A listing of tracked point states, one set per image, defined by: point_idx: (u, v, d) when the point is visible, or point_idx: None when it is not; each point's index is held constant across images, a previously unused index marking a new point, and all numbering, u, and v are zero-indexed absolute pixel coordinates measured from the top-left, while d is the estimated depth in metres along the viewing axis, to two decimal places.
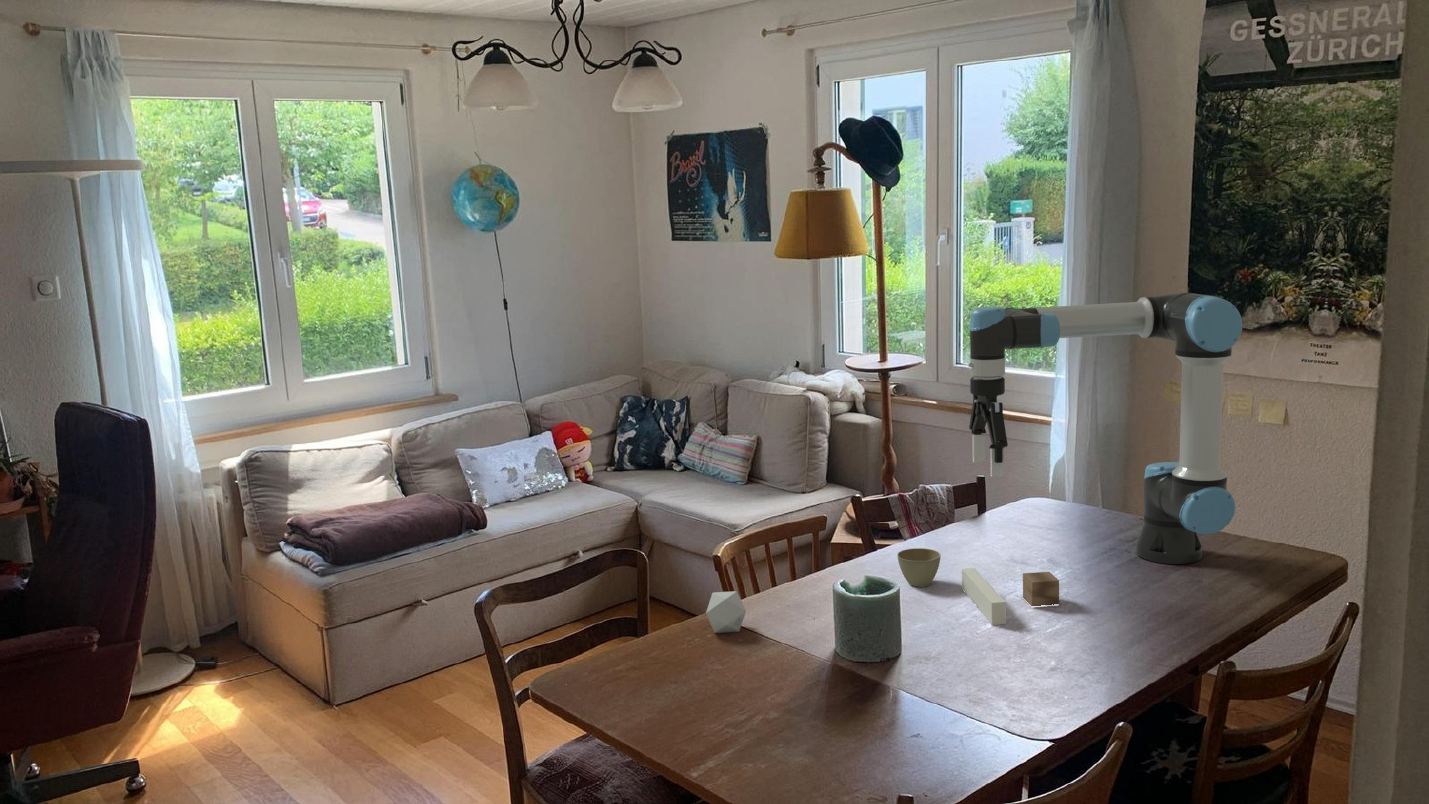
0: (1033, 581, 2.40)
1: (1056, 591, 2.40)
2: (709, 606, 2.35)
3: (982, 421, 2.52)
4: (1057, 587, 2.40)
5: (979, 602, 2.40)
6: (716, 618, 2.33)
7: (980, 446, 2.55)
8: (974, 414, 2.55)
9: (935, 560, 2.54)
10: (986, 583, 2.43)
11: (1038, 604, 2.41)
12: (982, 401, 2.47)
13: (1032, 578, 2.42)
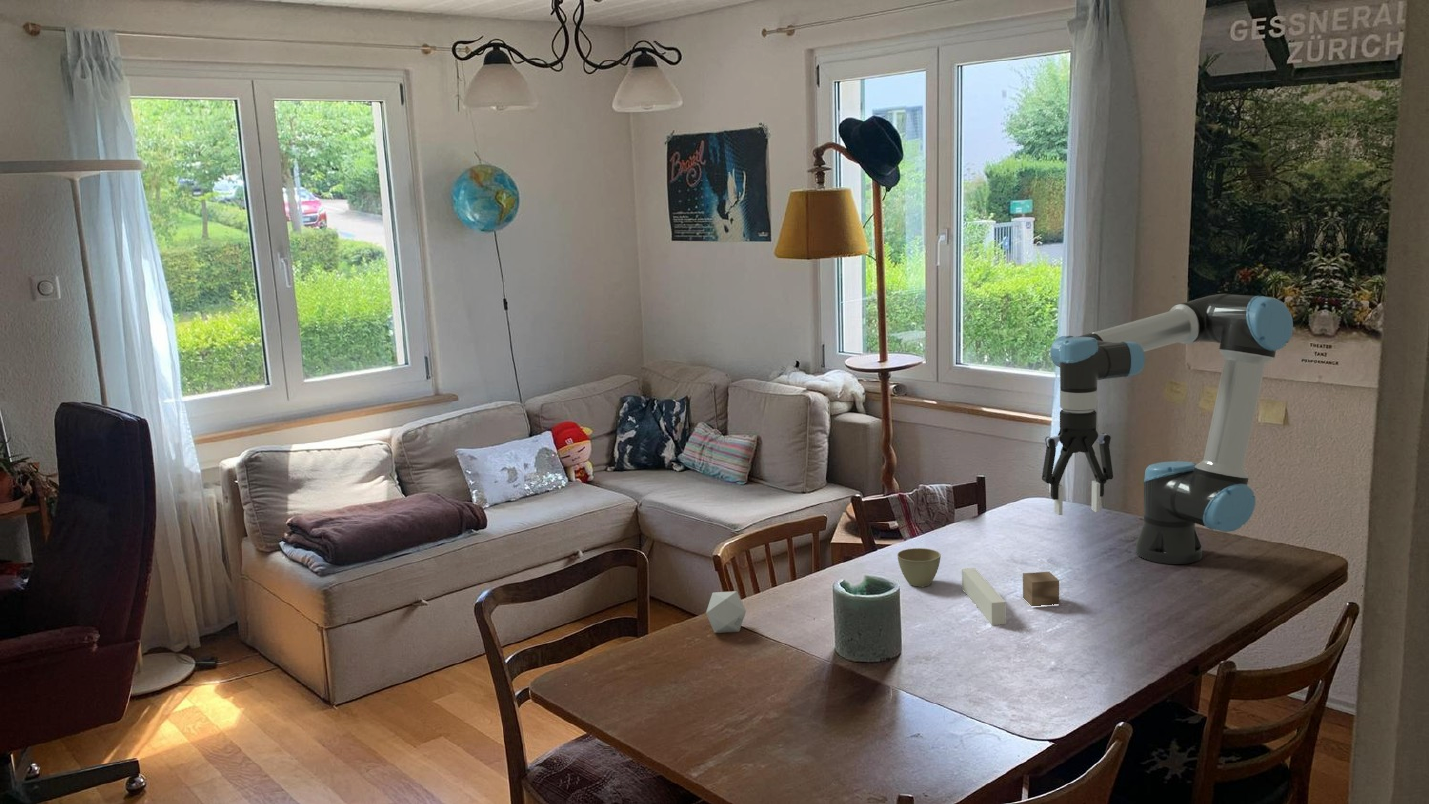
0: (1033, 581, 2.40)
1: (1056, 591, 2.40)
2: (709, 606, 2.35)
3: (1090, 462, 2.39)
4: (1057, 587, 2.40)
5: (979, 602, 2.40)
6: (716, 618, 2.33)
7: (1094, 494, 2.40)
8: (1101, 456, 2.40)
9: (935, 560, 2.54)
10: (986, 583, 2.43)
11: (1038, 604, 2.41)
12: None
13: (1032, 578, 2.42)
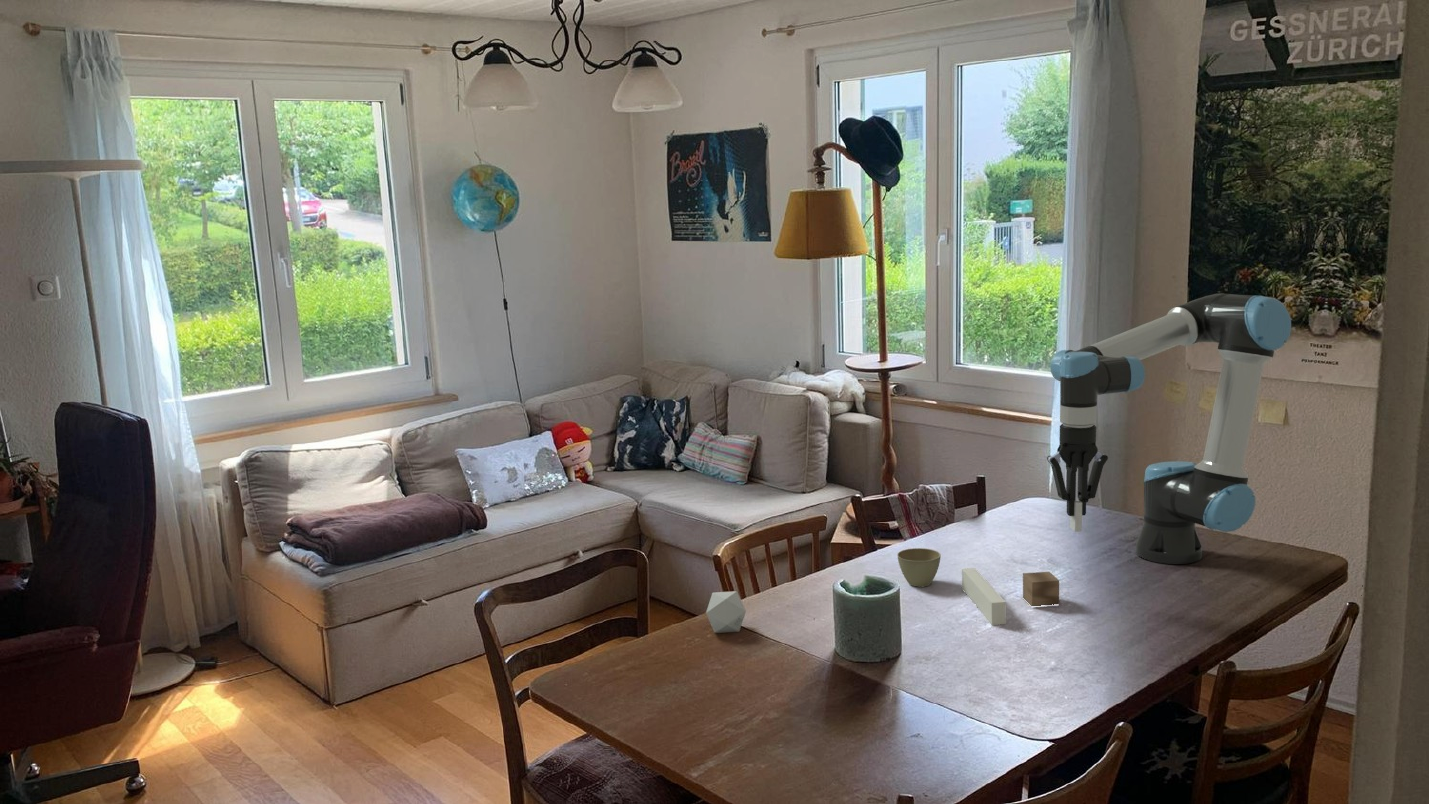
0: (1033, 581, 2.40)
1: (1056, 591, 2.40)
2: (709, 606, 2.35)
3: (1080, 477, 2.39)
4: (1057, 587, 2.40)
5: (979, 602, 2.40)
6: (716, 618, 2.33)
7: None
8: (1091, 474, 2.40)
9: (935, 560, 2.54)
10: (986, 583, 2.43)
11: (1038, 604, 2.41)
12: None
13: (1032, 578, 2.42)
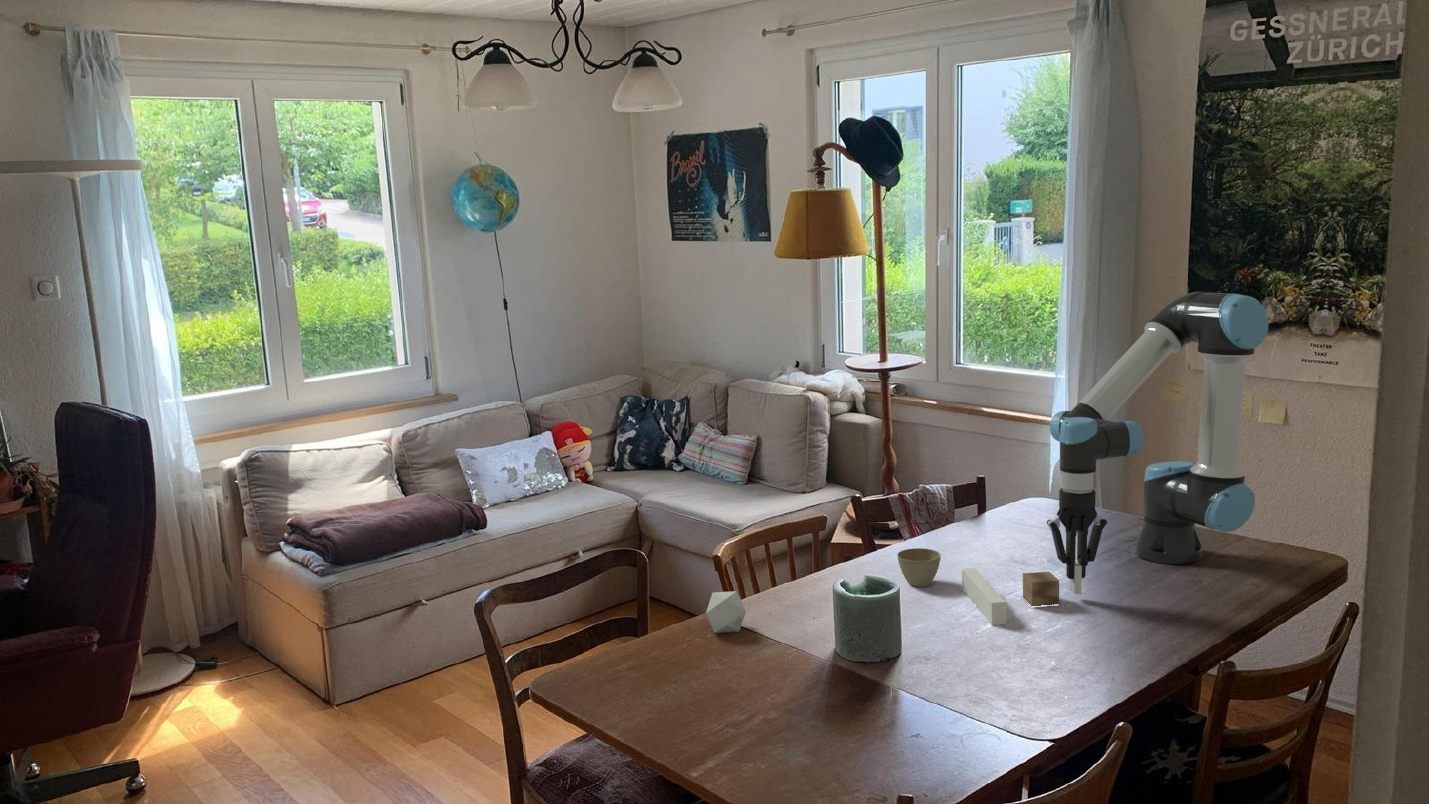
0: (1033, 581, 2.40)
1: (1056, 591, 2.40)
2: (709, 606, 2.35)
3: (1079, 541, 2.42)
4: (1057, 587, 2.40)
5: (979, 602, 2.40)
6: (716, 618, 2.33)
7: None
8: (1090, 537, 2.43)
9: (935, 560, 2.54)
10: (986, 583, 2.43)
11: (1038, 604, 2.41)
12: None
13: (1032, 578, 2.42)
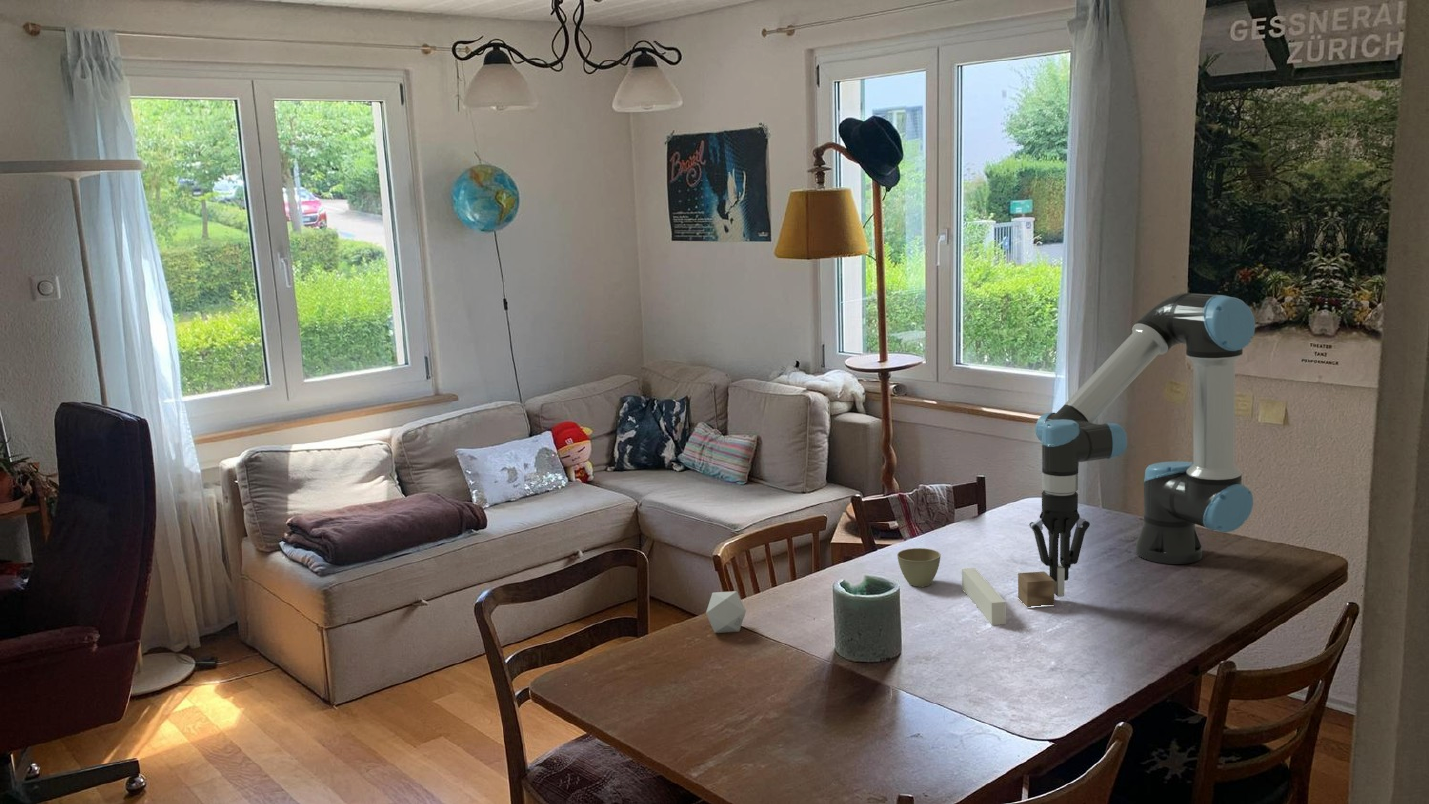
0: (1028, 581, 2.40)
1: (1051, 591, 2.40)
2: (709, 606, 2.35)
3: (1062, 543, 2.41)
4: (1052, 587, 2.40)
5: (979, 602, 2.40)
6: (716, 618, 2.33)
7: None
8: (1073, 539, 2.43)
9: (935, 560, 2.54)
10: (986, 583, 2.43)
11: (1033, 604, 2.41)
12: None
13: (1027, 577, 2.42)
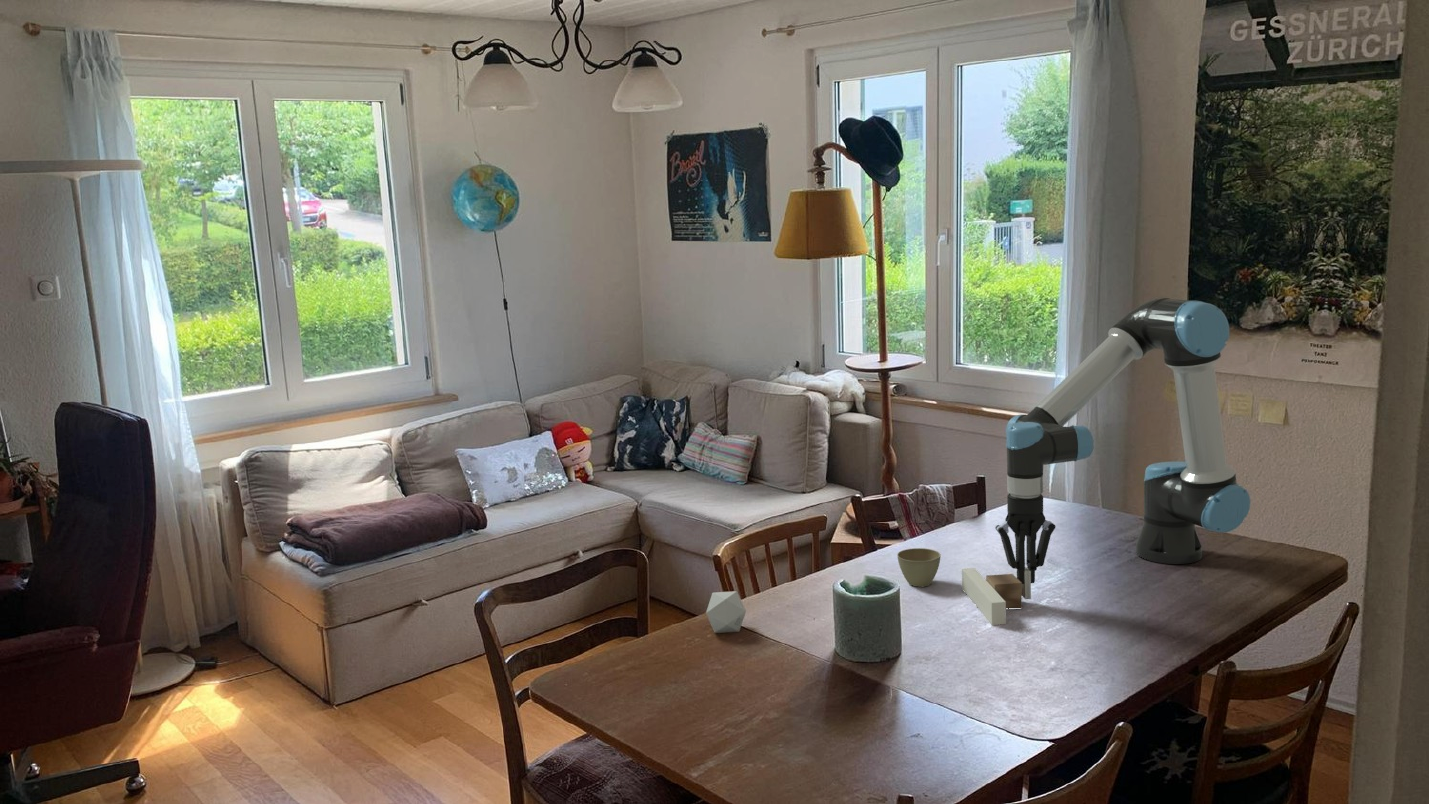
0: (996, 583, 2.40)
1: (1019, 593, 2.40)
2: (709, 606, 2.35)
3: (1028, 546, 2.41)
4: (1020, 589, 2.40)
5: (979, 602, 2.40)
6: (716, 618, 2.33)
7: None
8: (1039, 542, 2.42)
9: (935, 560, 2.54)
10: (986, 583, 2.43)
11: None
12: None
13: (994, 580, 2.42)
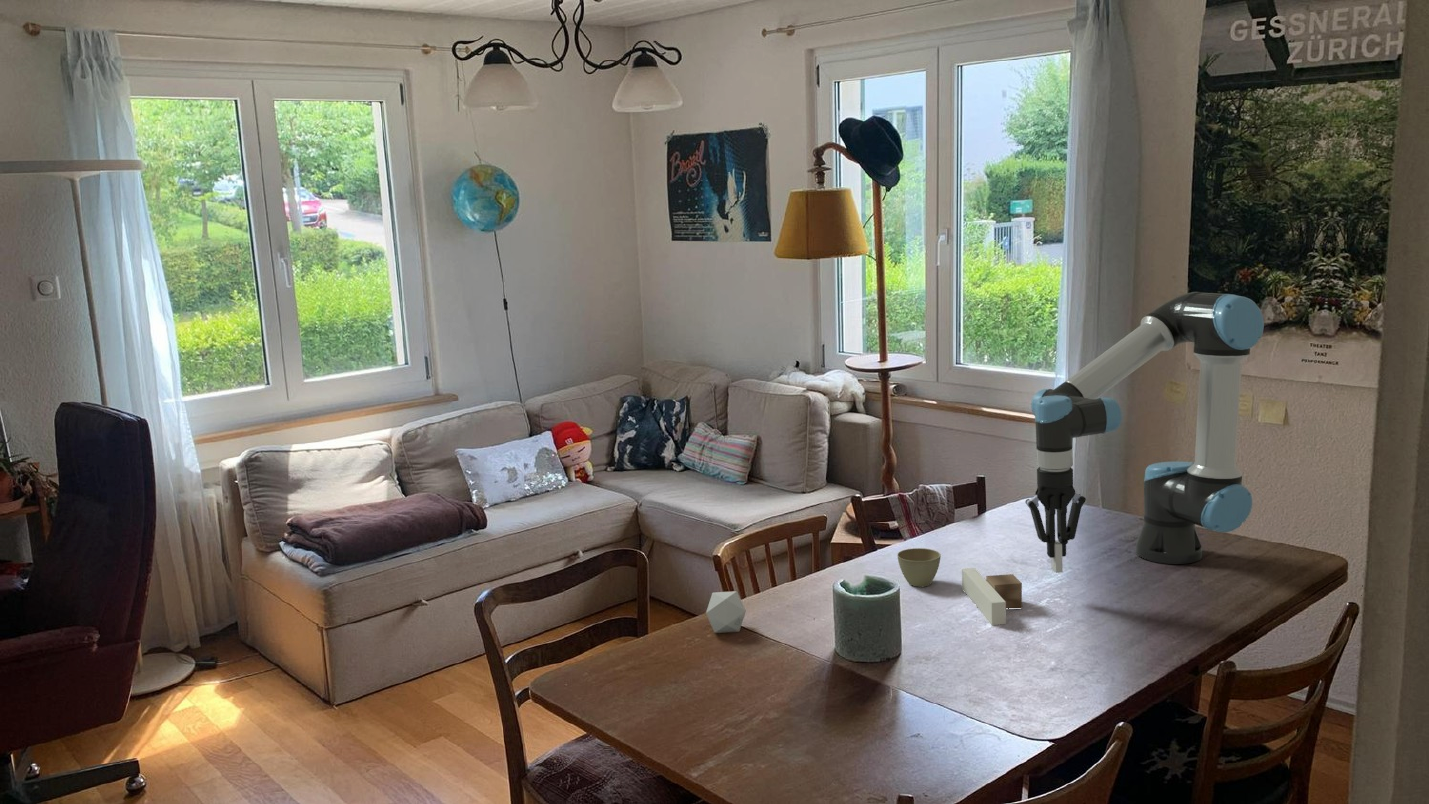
0: (996, 584, 2.40)
1: (1019, 594, 2.40)
2: (709, 606, 2.35)
3: (1059, 519, 2.41)
4: (1020, 590, 2.40)
5: (979, 602, 2.40)
6: (716, 618, 2.33)
7: None
8: (1069, 515, 2.42)
9: (935, 560, 2.54)
10: (986, 583, 2.43)
11: None
12: None
13: (994, 580, 2.42)
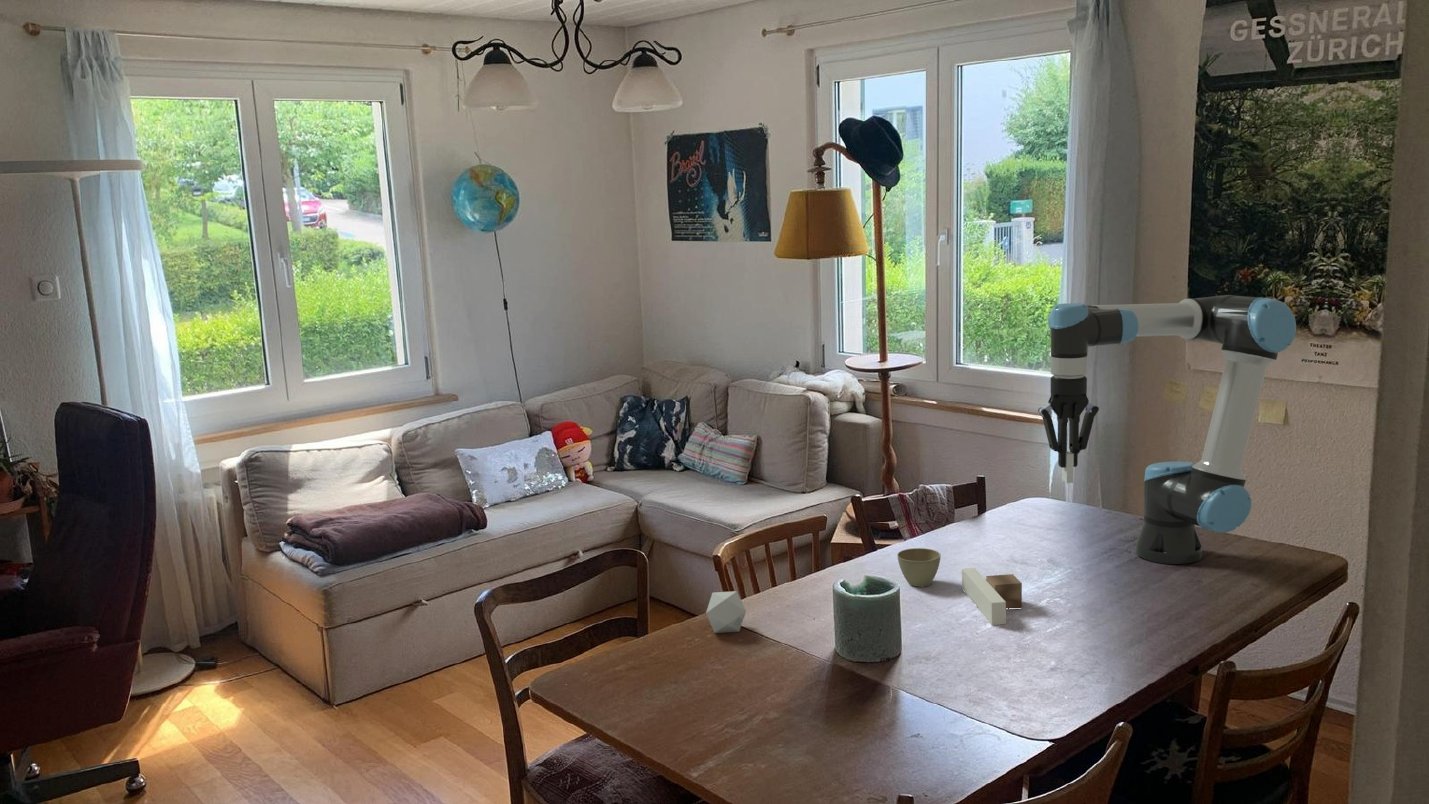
0: (996, 584, 2.40)
1: (1019, 594, 2.40)
2: (709, 606, 2.35)
3: (1071, 429, 2.40)
4: (1020, 590, 2.40)
5: (979, 602, 2.40)
6: (716, 618, 2.33)
7: None
8: (1082, 426, 2.41)
9: (935, 560, 2.54)
10: (986, 583, 2.43)
11: None
12: None
13: (994, 580, 2.42)
